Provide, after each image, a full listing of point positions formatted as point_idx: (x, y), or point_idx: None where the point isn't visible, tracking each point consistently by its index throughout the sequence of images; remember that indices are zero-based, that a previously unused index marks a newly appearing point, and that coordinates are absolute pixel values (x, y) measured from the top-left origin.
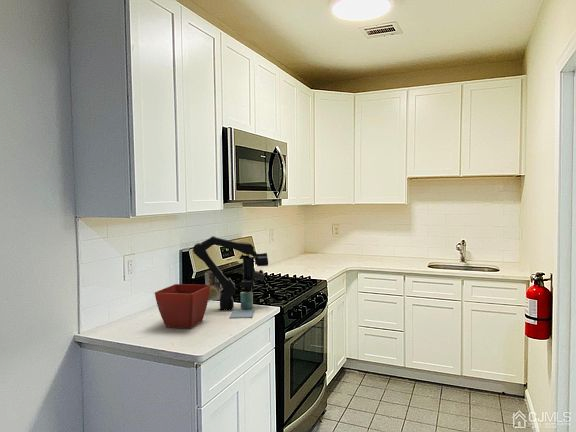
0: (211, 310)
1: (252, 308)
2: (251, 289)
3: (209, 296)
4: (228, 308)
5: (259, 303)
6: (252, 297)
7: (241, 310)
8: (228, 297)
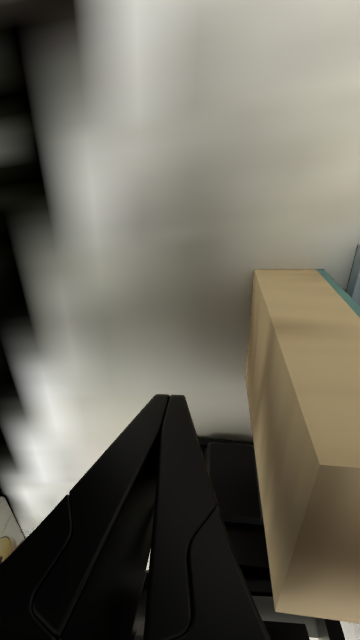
0: None
1: (331, 277)
2: (109, 504)
3: None
4: None
5: (11, 212)
6: (344, 360)
7: None
8: None
